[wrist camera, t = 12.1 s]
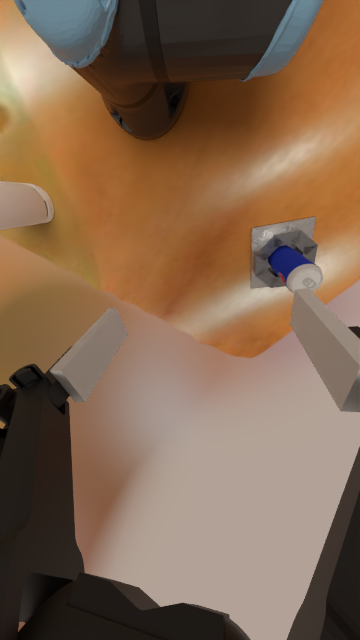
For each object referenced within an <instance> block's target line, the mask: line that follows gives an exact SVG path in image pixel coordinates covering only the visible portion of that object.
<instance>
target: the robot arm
mask: <svg viewBox="0 0 360 640" xmlns="http://www.w3.org/2000/svg"><path fill="white" fill-rule="evenodd" d="M14 2H15V4H16V6H17V7H18V9H19V11H20V12H21V14H22V15H23V17H24V18H25V20H26V21H27V23H28V24H29V25H30V26H31V28H32V29H33V30H34V31H35V32H36V34H37V35H38V36H39V37H40V38H41V39H42V40H43V41H44V42H45V43H46V44H47V45H48V46H49V48H50V49H51V51H52V52H53V54H54V55H55V56H56V57H57V58H58V59H59V60H61V61H62V62H64V63H65V64H66V65H67V64H68V65H69V66H70V67H71V68H72V69H74V70H75V71H76V72H77V73H78V74H79V75H80V76H82V77H83V78H84V79H85V80H86V81H87V82H88V83H89V84H91V85H92V86H93V87H94V88H95V89H96V90H97V91H99V92H100V94H101V96H102V98H103V101H104V103H105V105H106V107H107V109H108V111H109V112H110V114H111V116H112V117H113V118H114V120H115V121H116V122H117V123H118V124H119V125H120V126H121V127H122V128H123V129H124V130H125V131H127V132H128V133H130V134H131V135H133V136H135V137H137V138H140V139H144V140H151V139H156V138H158V137H161V136H162V135H164V134H165V133H167V132H168V131H169V130H170V129H171V128H172V127H173V126H174V124H175V123H176V121H177V120H178V118H179V116H180V114H181V112H182V110H183V107H184V104H185V101H186V97H187V93H188V87H189V82H193V81H212V80H231V79H239V80H240V81H243V82H245V81H246V80H250V79H251V78H252V77H260V76H268V75H273V74H275V73H277V72H278V71H280V70H281V69H282V68H284V67H285V66H286V65H287V64H288V63H289V62H290V61H291V59H292V58H293V57H294V56H295V54H296V53H297V51H298V49H299V48H300V46H301V45H302V43H303V41H304V39H305V38H306V36H307V34H308V32H309V30H310V28H311V26H312V24H313V22H314V20H315V18H316V16H317V14H318V11H319V9H320V7H321V5H322V3H323V0H14ZM290 325H291V327H292V329H293V330H294V332H295V334H296V335H297V337H298V339H299V341H300V342H301V344H302V346H303V347H304V349H305V351H306V353H307V354H308V356H309V358H310V360H311V361H312V363H313V365H314V367H315V368H316V370H317V372H318V373H319V375H320V377H321V379H322V380H323V382H324V384H325V385H326V387H327V389H328V390H329V392H330V394H331V396H332V398H333V399H334V401H335V403H336V404H337V406H338V408H339V409H340V411H348V412H349V411H350V412H360V327H358V326H356V327H347V326H346V325H345V324H344V323H343V322H342V321H341V320H340V319H339V318H338V317H337V316H336V315H335V314H334V313H333V312H332V311H331V310H330V309H329V308H328V307H327V306H326V305H325V304H324V303H323V302H322V301H321V300H320V299H319V298H318V297H317V296H316V295H315V294H314V293H313V292H312V291H311V290H310V289H309V288H304V289H295V293H294V299H293V306H292V313H291V320H290ZM127 335H128V333H127V331H126V329H125V326H124V324H123V322H122V319H121V317H120V315H119V312H118V310H117V308H110V309H108V310H107V311H106V312H105V313H104V314H103V315H102V316H101V317H100V318H99V319H98V320H97V321H96V322H95V324H93V325H92V327H91V328H90V329H89V330H88V331H87V332H86V333H85V334H84V335H83V336H82V337H81V338H80V339H79V340H78V341H77V342H76V343H75V344H74V345H73V346H71V347H70V348H69V349H68V350H67V351H66V352H65V354H63V355H62V356H61V358H60V359H58V361H57V362H56V363H55V364H54V365H53V366H52V367H51V368H50V369H49V370H48V371H47V372H46V373H45V374H44V373H43V372H42V371H41V370H40V369H39V368H38V366H37V365H35V364H30V365H27V366H24V367H22V368H21V369H19V370H18V371H16V372H15V373H14V374H13V375H12V376H11V377H10V378H9V380H10V381H11V382H12V383H13V384H14V385H15V386H16V387H17V388H16V389H12V388H11V387H10V386H9V385H7V384H3V385H0V420H1V421H2V422H3V423H5V424H6V425H5V426H4V428H3V429H1V428H0V640H250V638H249V637H248V636H247V635H246V633H245V632H244V631H243V630H242V629H241V628H240V627H239V626H238V625H237V624H236V623H234V622H233V621H232V620H231V619H229V614H226V613H223V612H219V611H215V610H212V609H209V608H206V607H202V606H199V605H194V604H187V603H179V604H175V605H169V606H164V607H160V606H159V605H158V604H157V603H156V602H154V601H153V600H152V599H151V598H150V597H149V596H148V595H147V594H145V593H144V592H143V591H142V590H141V589H140V588H139V587H135V586H132V585H129V584H125V583H122V582H118V581H115V580H111V579H107V578H103V577H98V576H94V575H90V574H86V573H84V564H83V559H82V555H81V552H80V550H79V548H78V546H77V543H76V540H75V523H74V501H73V480H72V458H71V437H70V416H69V403H68V401H67V398H68V397H69V396H71V397H72V399H73V400H74V401H76V402H85V401H86V400H87V398H88V397H89V395H90V393H91V392H92V390H93V389H94V387H95V386H96V384H97V382H98V381H99V379H100V378H101V376H102V375H103V373H104V371H105V370H106V368H107V367H108V365H109V363H110V362H111V360H112V358H113V357H114V356H115V354H116V352H117V351H118V349H119V348H120V346H121V345H122V343H123V341H124V340H125V338H126V337H127ZM22 621H23V622H25V625H24V626H23V627H22V628H21V629H20V631H19V632H18V626H19V622H22ZM287 640H360V447H359V450H358V453H357V456H356V459H355V461H354V464H353V467H352V470H351V472H350V475H349V478H348V481H347V483H346V486H345V489H344V492H343V494H342V497H341V500H340V503H339V505H338V508H337V511H336V514H335V517H334V519H333V522H332V525H331V528H330V531H329V533H328V536H327V539H326V541H325V544H324V547H323V550H322V553H321V555H320V558H319V561H318V564H317V567H316V569H315V572H314V575H313V577H312V580H311V583H310V586H309V589H308V591H307V594H306V596H305V599H304V601H303V604H302V605H301V607H300V609H299V611H298V613H297V615H296V618H295V620H294V622H293V625H292V627H291V630H290V632H289V635H288V638H287Z"/></svg>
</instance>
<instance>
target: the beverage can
mask: <svg viewBox="0 0 360 640" xmlns="http://www.w3.org/2000/svg"><path fill="white" fill-rule="evenodd" d="M268 263H269V265H270V266H271V267H272V269H273V270H274V271H275V272H276V274H277V275H278V276H279V278H280V279H281V280H282V281H283V283H284V284H285V285H286V286H287V288H288V289H289V290H290V291H291V292H293V293H295V289H304V288H309V289H310V290H311V291H312V292H313V291H315V290H316V289H317V288H318V287H319V286H320V285H321V283H322V281H323V274H322V271H321V269H320V268H319V267H318V266H317V265H316V264H314V263H313V262H311V261H310V260H308V259H307V258H305V257H304V256H302V255H301V254H299V253H298V252H297V251H295V250H294V249H292V248H291V247H289V246H287V245H284V246H279V247H278V248H277V249H276V250H275V251H274V252H273V253H272V254H271V255H270V256H269V257H268Z"/></svg>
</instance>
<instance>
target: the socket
mask: <svg viewBox="0 0 360 640" xmlns="http://www.w3.org/2000/svg"><path fill="white" fill-rule="evenodd" d="M315 220H316V217H315V216H313V217H307V218H302V219H297V220H291V221H286V222H280V223H275V224H269V225H264V226H258V227H253V228H251V288H260V287H270V288H273V287H282V286H286V285H285V284H284V283H283V281H282V280H281V279H280V278H279V276H278V275H277V274H276V272H275V271H274V270H273V269H272V267H271V266H270V265H269V263H268V257H269V256H270V255H271V254H272V253H273V252H274V251H275V250H276V249H277V248H278V247H279V246H284V245H287V246H289V247H291V248H292V249H294V250H295V251H297V252H298V253H299V254H301V255H302V256H304V257H305V258H307V259H308V260H310V261H311V262H313V263H314V262H315V256H316V251H317V246H318V245H317V244H316V243H315V242H314V241H313V240H312V237H313V231H314V225H315Z"/></svg>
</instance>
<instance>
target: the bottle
mask: <svg viewBox="0 0 360 640" xmlns="http://www.w3.org/2000/svg"><path fill="white" fill-rule="evenodd" d="M35 189H36V190H35ZM44 201H45V202H46V204H45V202H44ZM46 205H47V208H46ZM47 209H48V214H47ZM53 216H54V207H53V204H52V201H51V199H50V197H49V196H48V194H47V193H46V192H45V191H44V190H43V189H42V188H41V187H39V186H38V185H35V184H31V183H16V182H1V181H0V230H4V229H10V228H17V227H23V226H29V225H36V224H40V223H48V222H50V221H51V220H52V218H53Z"/></svg>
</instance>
